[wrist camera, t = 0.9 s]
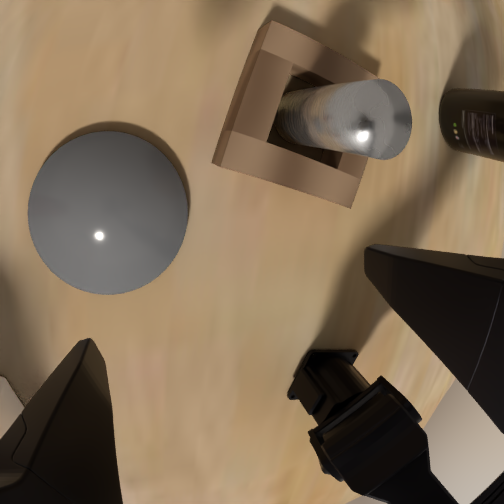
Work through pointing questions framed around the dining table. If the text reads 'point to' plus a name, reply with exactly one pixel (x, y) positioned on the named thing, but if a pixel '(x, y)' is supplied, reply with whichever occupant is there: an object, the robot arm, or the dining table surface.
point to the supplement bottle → (474, 122)
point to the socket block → (265, 107)
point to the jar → (8, 406)
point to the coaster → (107, 212)
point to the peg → (347, 118)
